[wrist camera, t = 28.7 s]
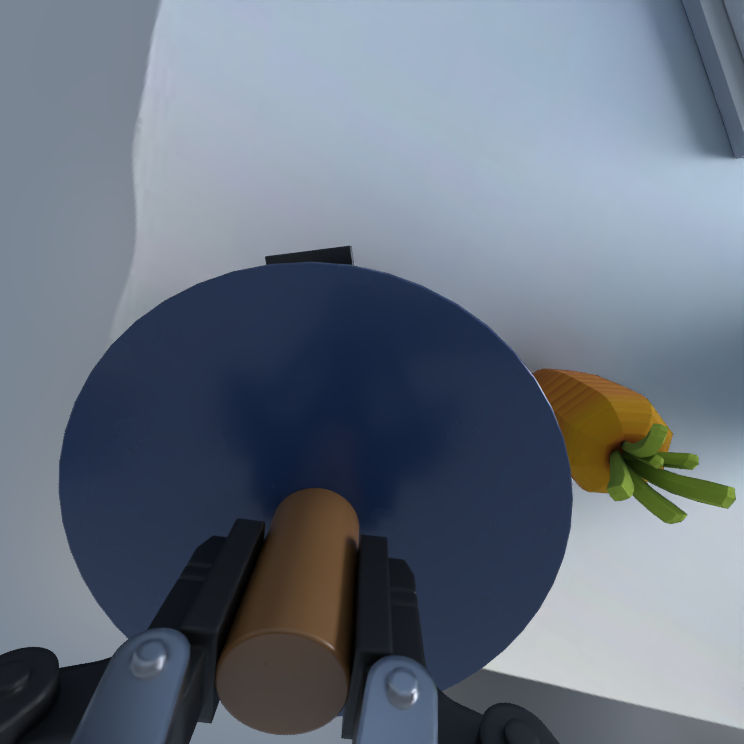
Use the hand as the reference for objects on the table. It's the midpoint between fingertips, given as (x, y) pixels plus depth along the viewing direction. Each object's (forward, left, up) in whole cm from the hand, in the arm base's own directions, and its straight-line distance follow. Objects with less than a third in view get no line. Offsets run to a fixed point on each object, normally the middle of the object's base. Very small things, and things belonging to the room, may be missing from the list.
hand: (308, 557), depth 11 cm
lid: (0, 0, -2) cm, 2 cm away
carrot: (-10, +8, -18) cm, 22 cm away
